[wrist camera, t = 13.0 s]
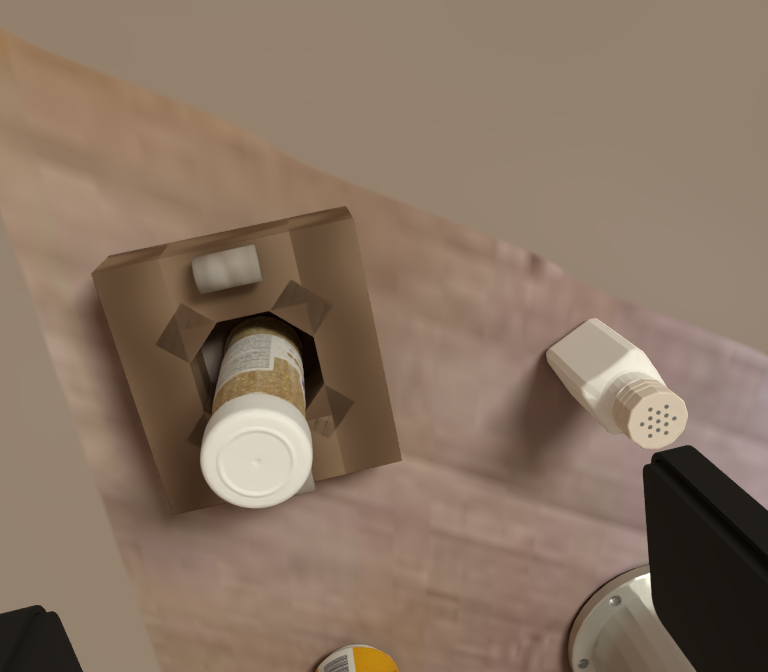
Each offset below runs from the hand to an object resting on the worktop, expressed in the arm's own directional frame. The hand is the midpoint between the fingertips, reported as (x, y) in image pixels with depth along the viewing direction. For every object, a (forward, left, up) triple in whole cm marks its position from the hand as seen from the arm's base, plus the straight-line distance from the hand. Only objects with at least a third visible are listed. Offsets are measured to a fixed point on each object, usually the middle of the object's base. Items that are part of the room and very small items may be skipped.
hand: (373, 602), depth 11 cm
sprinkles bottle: (+4, +6, -31) cm, 31 cm away
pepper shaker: (-15, +11, -31) cm, 36 cm away
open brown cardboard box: (+4, +6, -30) cm, 31 cm away
